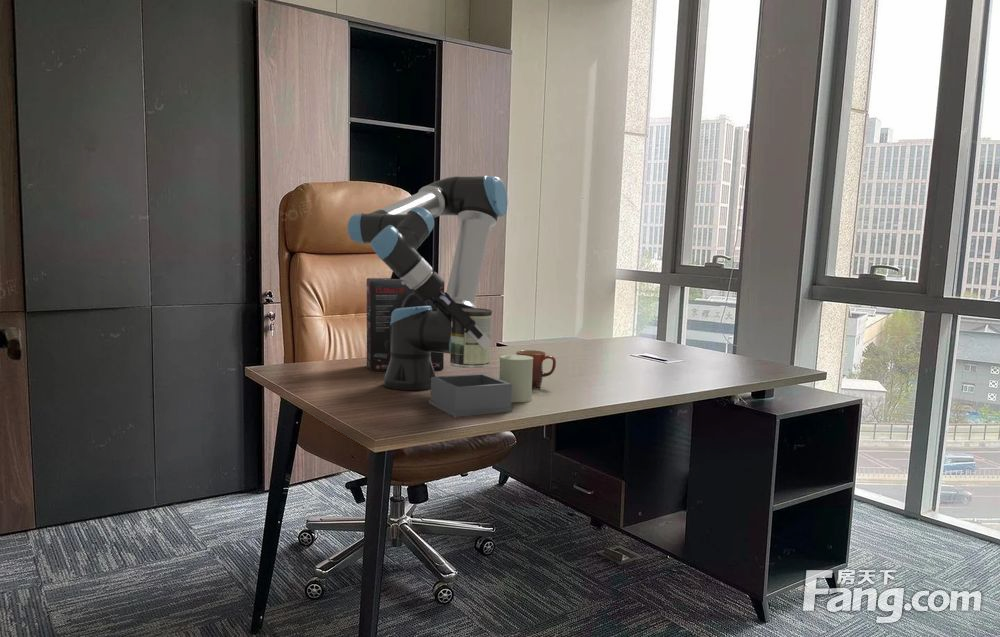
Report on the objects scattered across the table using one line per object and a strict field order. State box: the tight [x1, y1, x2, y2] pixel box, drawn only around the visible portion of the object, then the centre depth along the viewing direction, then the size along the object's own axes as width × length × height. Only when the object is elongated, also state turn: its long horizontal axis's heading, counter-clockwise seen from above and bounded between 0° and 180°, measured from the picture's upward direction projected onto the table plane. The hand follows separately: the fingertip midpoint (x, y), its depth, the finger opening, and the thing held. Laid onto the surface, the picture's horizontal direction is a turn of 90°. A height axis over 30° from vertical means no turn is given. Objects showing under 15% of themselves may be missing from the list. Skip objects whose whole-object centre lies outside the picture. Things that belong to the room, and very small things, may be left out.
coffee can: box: [449, 307, 493, 369], centre depth 185 cm, size 10×10×14 cm
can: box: [499, 354, 533, 403], centre depth 198 cm, size 9×9×12 cm
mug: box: [515, 349, 557, 389], centre depth 216 cm, size 12×9×10 cm
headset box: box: [366, 271, 445, 372], centre depth 241 cm, size 25×12×33 cm, turn 106°
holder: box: [428, 373, 514, 418], centre depth 187 cm, size 16×16×7 cm
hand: (482, 343), depth 186 cm, fingers closed on coffee can, 10 cm apart
